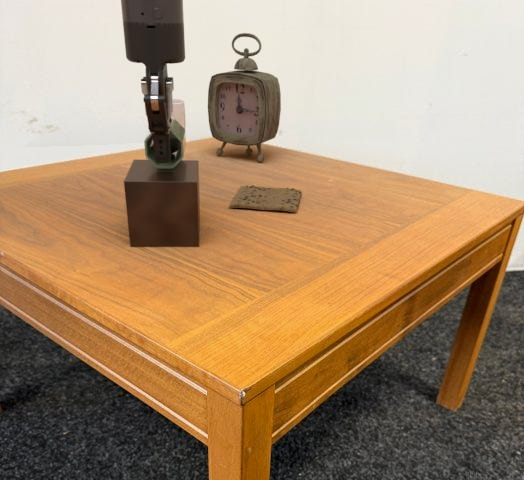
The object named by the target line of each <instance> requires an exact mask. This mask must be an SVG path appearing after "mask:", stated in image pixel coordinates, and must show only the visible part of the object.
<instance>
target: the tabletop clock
mask: <svg viewBox="0 0 524 480" xmlns="http://www.w3.org/2000/svg"><path fill="white" fill-rule="evenodd" d="M240 38H252V39H253V40H255V41H256V42H257V43H258V44H257V45H258V46H259V47H258V49H257V50H255V51H253V52H250V50H249V48H244V49H243V51H240V50H238V49H237V48H235V42H236V41H237V40H238V39H240ZM231 48H232V50H233V51H234V53H235V54H237V55H239V56H241V58H239V59H237V60H236V62H235V64H234V66H233V69H234V70H232V71H231V70H230V71H226V72H219V73H215V74H213V75H211V77H210V80H209V85H208V89H207V90H208V92H207V95H208V96H207V116H208V124H209V125H208V126H209V130H210V133H211V136H212V138H214V139H216V140H217V141H219V142H222V144H221V146H220V147H218V148H217V149H216V151H215V153H216V155H217V156H222V155H223V154H224V150H223V149H224V148H225V147H226V145H227V144H229V145H234V146H244V147H247V148H245V154H246V155H247V156H251V155H252V154H253V149H252V148H251V147H254V146H256V149H257V152H258V153H257V154H258V155H257V157H256V159H257V162H259V163H262V162H264V161H265V156H264V155H263V154H262V144H263V143H266V142H268V141H271V140H274V139H275V138H276V136H277V134H278V130H279V126H280V121H281V113H282V112H281V111H282V110H281V109H282V105H281V104H282V103H281V101H282V99H281V97H282V96H281V87H280V82H279V79H278V77H277V76H275V75H274V74H271V73H268V72H263V71H259V68H258V64H257V62H256V61H255V59H253V58H251V57H254V56H256V55H258V54H259V53H261V50H262V42H261V39H259V37H258V36H257V35H255V34H252V33H250V32H249V33H247V32H243V33H239V34H237V35H235V36H234V37H233V39H232V41H231Z"/></svg>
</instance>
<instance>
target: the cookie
mask: <svg viewBox="0 0 524 480" xmlns="http://www.w3.org/2000/svg"><path fill="white" fill-rule="evenodd" d="M302 193H303V192H302V189H296V188H294V187H293V188H289V187H263V186H255V185H250V186H249V185H242V186H240V187H239V188H238V190H237V191H236V194H235V195H234V196H233V198H232V200H231V201H230V203H229V204H228V207H229V208H231V209H233V208H235V209H237V208H239V209H240V208H241V209H251V210H261V211H281V212H289V213H295V214H296V213H297V211H298V208H299V206H300V203H301V202H300V200H301V197H302V195H303V194H302Z"/></svg>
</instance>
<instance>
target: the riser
mask: <svg viewBox="0 0 524 480" xmlns="http://www.w3.org/2000/svg"><path fill="white" fill-rule="evenodd" d="M199 162H200V161H199V160H197V159H196V160H195V159H193V160H192V159H190V160H187V159H184V160H181V161H180V162H179V163H178V164H177V165H176V166H175V167H174V168H172V169H158V168H156V167H155V166H154V165H153V164H152V163H151V162H150V161H149V160H148V159H133V160H132V163H131V164H130V167H129V169H128V171H127V174H126V176H125V178H124V180H123V186H124V187H123V188H124V199H125V207H126V216H127V217H126V219H127V227H128V236H129V244H130V245H129V246H130V247H200V237H201V236H200V235H201V234H200V233H201V202H200V201H201V197H200V196H201V195H200V168H199V167H200V166H199V165H200V163H199Z"/></svg>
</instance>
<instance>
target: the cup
mask: <svg viewBox="0 0 524 480" xmlns="http://www.w3.org/2000/svg"><path fill="white" fill-rule="evenodd" d="M171 119H172V123H171V125H170V126H171V130H170V149H171V160H170V162H169V163H157V162H155V160H154V147H153V135H152V134H151V132H150V131H149V130H148V132H147V134H146V137H145V138H144V141H143V142H144V143H143V144H144V156H145V158H146V160H149V161H150V162H151V163H152V164H153V165H154V166H155V167H156V168H158V169H172V168H174V167H175V166H176V165H177V164H178V163H179V162H180V161H181V160H182V159H183V157H184V158H185V151H186V145H187V138H186V135H187V134H186V128H185V129H184V128H183V127H182V126H181V125H180V124H179V123H178V122H177V121H176V120H175V119H174V118H171ZM175 152H176V153H175Z"/></svg>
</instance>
